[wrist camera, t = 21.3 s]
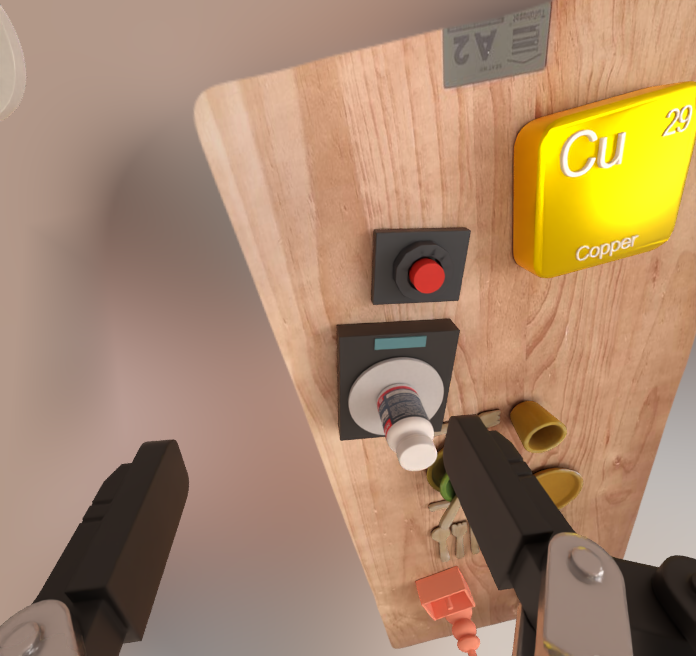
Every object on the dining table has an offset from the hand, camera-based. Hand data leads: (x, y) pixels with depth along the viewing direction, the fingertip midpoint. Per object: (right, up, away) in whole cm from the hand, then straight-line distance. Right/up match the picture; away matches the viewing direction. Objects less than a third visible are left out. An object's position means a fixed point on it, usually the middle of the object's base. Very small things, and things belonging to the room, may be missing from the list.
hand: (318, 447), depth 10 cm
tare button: (+9, +9, +25) cm, 28 cm away
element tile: (+25, +19, +26) cm, 41 cm away
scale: (+6, -3, +35) cm, 35 cm away
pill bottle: (+7, -5, +32) cm, 33 cm away
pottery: (+23, -55, +66) cm, 89 cm away
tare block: (+9, +11, +28) cm, 31 cm away
